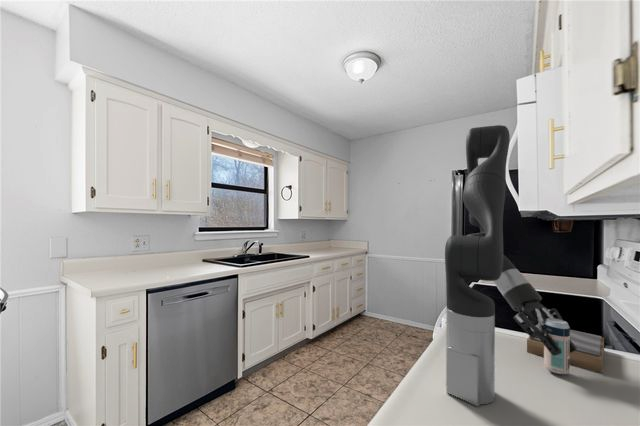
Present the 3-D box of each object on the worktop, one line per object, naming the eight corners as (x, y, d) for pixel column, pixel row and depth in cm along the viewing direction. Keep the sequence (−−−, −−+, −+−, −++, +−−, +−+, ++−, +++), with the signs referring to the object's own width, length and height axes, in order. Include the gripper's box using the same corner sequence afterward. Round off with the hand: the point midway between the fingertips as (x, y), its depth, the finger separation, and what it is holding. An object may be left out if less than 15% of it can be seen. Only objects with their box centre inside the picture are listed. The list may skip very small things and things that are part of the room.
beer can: (559, 366, 71) (560, 317, 71) (575, 376, 66) (575, 324, 67) (539, 364, 72) (539, 316, 72) (552, 375, 67) (553, 323, 67)
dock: (602, 373, 69) (602, 356, 69) (526, 351, 80) (526, 337, 80) (604, 350, 82) (603, 336, 82) (538, 334, 92) (538, 322, 92)
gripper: (506, 283, 74) (558, 350, 63) (544, 280, 79) (598, 342, 67) (488, 298, 79) (532, 363, 67) (524, 294, 84) (572, 355, 72)
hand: (565, 352), depth 67 cm, fingers closed on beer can, 4 cm apart
